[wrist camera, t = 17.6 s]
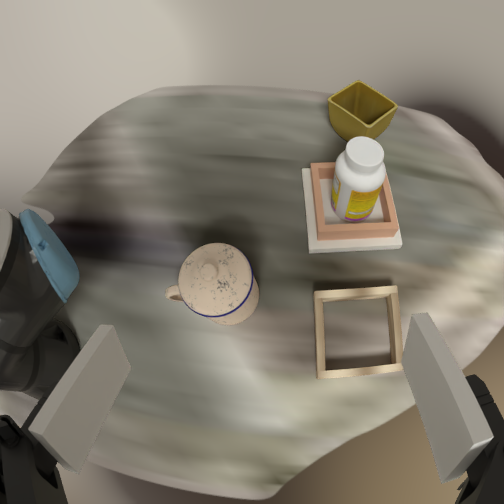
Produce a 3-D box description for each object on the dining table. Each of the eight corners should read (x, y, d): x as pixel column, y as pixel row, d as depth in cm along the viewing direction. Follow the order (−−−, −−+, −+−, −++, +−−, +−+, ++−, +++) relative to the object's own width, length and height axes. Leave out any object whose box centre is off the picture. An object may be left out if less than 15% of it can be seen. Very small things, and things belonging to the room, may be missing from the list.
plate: (308, 253, 45) (310, 241, 41) (301, 173, 50) (301, 157, 46) (399, 248, 43) (408, 236, 39) (382, 171, 48) (388, 155, 44)
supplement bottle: (380, 205, 44) (402, 153, 33) (354, 232, 44) (371, 183, 32) (348, 178, 47) (359, 122, 35) (320, 203, 46) (326, 149, 34)
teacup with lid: (256, 260, 46) (243, 225, 35) (265, 321, 42) (255, 304, 32) (178, 274, 47) (144, 245, 36) (183, 333, 43) (147, 320, 32)
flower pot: (389, 139, 51) (399, 104, 42) (361, 163, 49) (369, 127, 41) (353, 114, 54) (358, 79, 46) (324, 135, 53) (326, 98, 44)
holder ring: (316, 378, 38) (317, 379, 36) (313, 295, 43) (314, 291, 40) (397, 370, 37) (403, 370, 35) (391, 290, 41) (396, 285, 39)
